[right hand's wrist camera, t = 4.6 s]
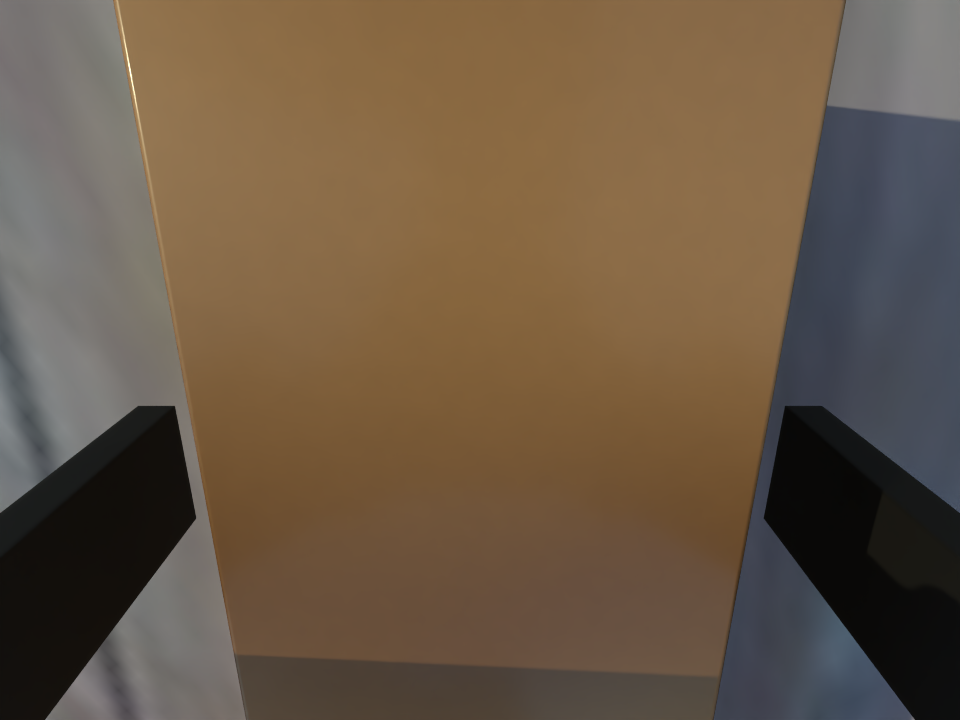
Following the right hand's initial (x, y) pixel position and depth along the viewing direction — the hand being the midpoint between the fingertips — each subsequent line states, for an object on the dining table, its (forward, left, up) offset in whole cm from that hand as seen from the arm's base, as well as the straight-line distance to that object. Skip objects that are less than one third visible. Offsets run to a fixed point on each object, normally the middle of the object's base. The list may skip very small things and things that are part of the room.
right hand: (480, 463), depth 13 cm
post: (+9, +15, -2) cm, 18 cm away
